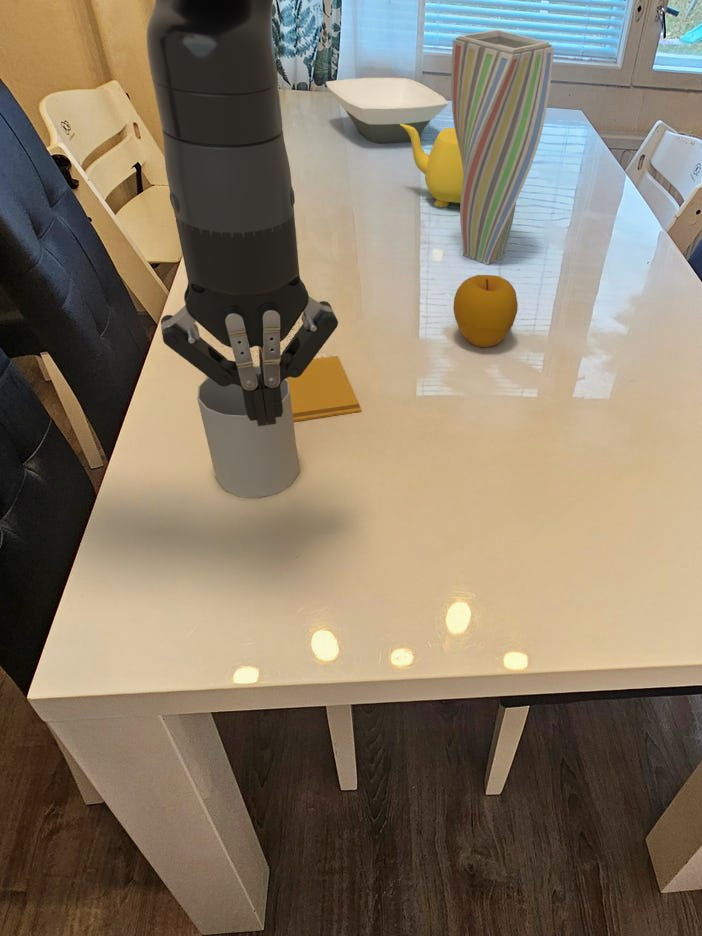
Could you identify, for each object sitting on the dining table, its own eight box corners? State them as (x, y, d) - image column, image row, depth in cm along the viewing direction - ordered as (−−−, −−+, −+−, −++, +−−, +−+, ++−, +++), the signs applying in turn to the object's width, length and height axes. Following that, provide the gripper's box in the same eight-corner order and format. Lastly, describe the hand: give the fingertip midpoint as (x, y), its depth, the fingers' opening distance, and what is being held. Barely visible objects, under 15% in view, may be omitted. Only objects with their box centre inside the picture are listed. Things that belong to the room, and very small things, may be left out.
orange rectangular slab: (218, 433, 77) (217, 430, 77) (206, 374, 85) (205, 371, 85) (361, 411, 82) (361, 409, 82) (337, 357, 90) (337, 355, 90)
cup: (205, 494, 70) (185, 412, 63) (226, 443, 76) (210, 363, 69) (291, 499, 71) (280, 419, 64) (305, 448, 76) (297, 369, 70)
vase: (426, 254, 114) (434, 34, 93) (475, 231, 122) (492, 24, 102) (494, 282, 109) (518, 56, 88) (540, 256, 117) (572, 44, 97)
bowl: (409, 116, 167) (409, 75, 162) (454, 147, 154) (457, 104, 148) (320, 122, 158) (317, 79, 153) (360, 155, 145) (359, 110, 139)
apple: (484, 318, 101) (490, 258, 94) (526, 344, 96) (535, 283, 90) (439, 335, 96) (442, 273, 90) (480, 363, 92) (487, 300, 86)
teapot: (503, 219, 127) (511, 143, 118) (393, 206, 127) (393, 129, 118) (506, 192, 137) (514, 120, 128) (404, 180, 137) (405, 107, 128)
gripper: (323, 180, 51) (335, 384, 62) (122, 187, 46) (176, 404, 58) (348, 222, 46) (355, 435, 58) (126, 233, 41) (183, 461, 53)
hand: (265, 419), depth 58 cm, fingers closed
